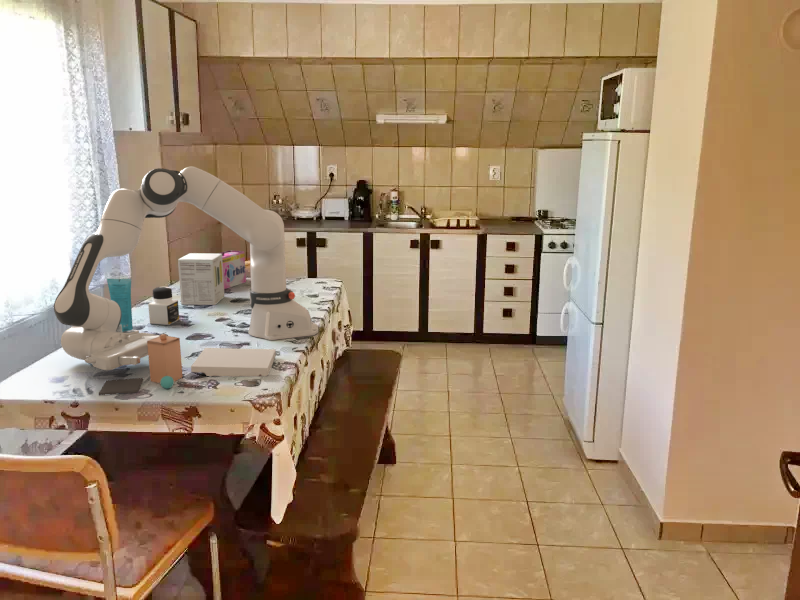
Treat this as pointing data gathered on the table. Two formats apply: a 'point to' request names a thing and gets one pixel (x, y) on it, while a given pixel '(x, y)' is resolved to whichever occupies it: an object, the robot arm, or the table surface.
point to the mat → (121, 386)
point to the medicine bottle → (163, 307)
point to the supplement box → (201, 278)
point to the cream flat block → (234, 362)
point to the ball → (167, 382)
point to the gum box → (233, 268)
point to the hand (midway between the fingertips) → (151, 355)
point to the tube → (122, 301)
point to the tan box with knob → (164, 358)
